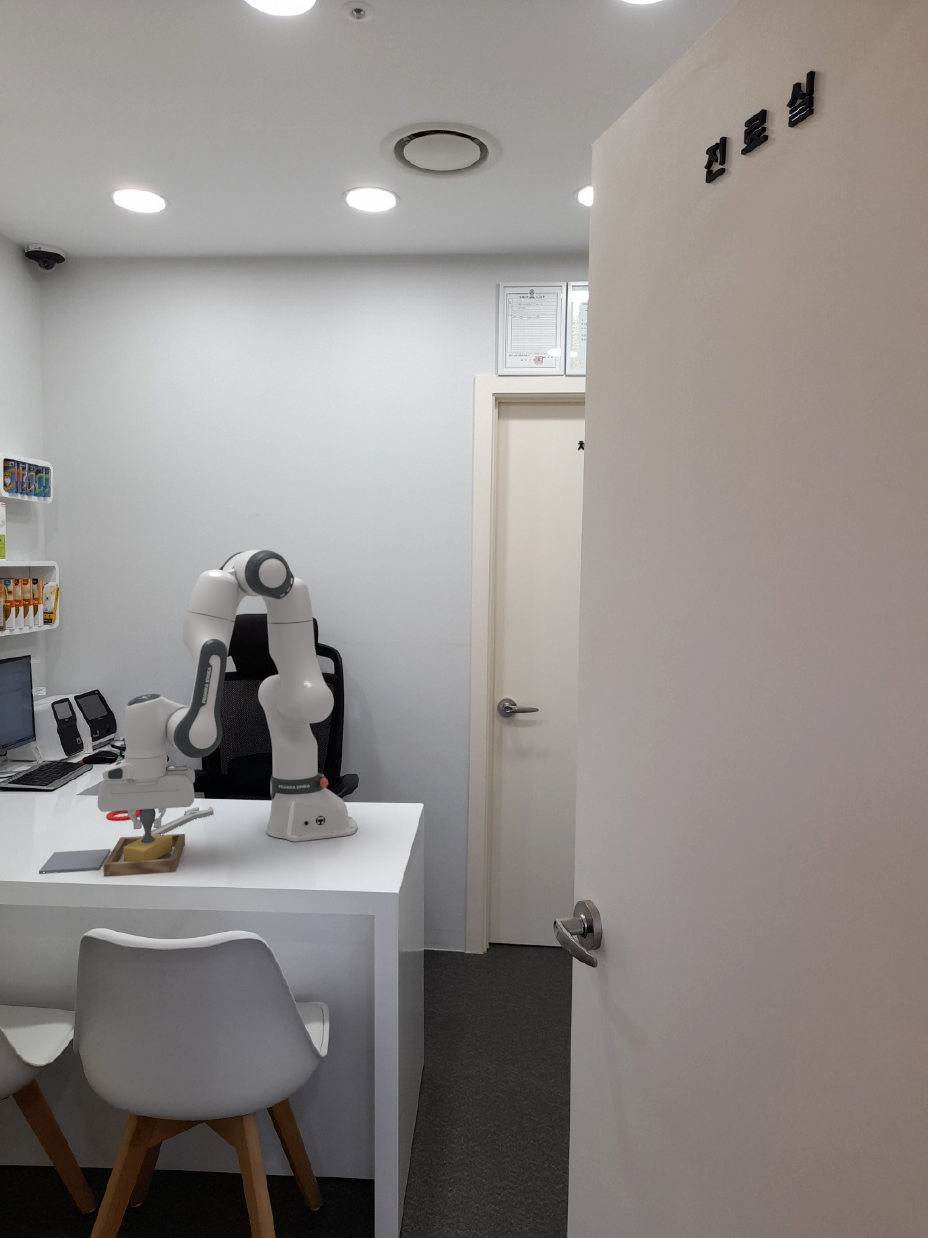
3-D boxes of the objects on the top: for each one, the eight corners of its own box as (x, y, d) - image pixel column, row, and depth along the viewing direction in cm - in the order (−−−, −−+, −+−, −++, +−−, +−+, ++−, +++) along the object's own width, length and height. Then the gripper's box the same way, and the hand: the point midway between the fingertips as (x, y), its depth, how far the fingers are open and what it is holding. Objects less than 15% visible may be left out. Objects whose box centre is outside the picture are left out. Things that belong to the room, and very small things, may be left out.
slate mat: (110, 851, 190) (110, 849, 190) (99, 870, 178) (99, 867, 178) (54, 854, 188) (54, 852, 187) (39, 873, 176) (39, 871, 176)
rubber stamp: (152, 848, 191) (150, 797, 190) (173, 851, 189) (172, 799, 188) (122, 863, 181) (121, 809, 181) (144, 866, 180) (143, 812, 179)
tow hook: (119, 824, 212) (150, 814, 220) (116, 775, 211) (147, 767, 218) (99, 819, 216) (130, 809, 224) (96, 771, 215) (128, 763, 223)
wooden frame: (185, 844, 196) (185, 833, 196) (175, 871, 178) (174, 860, 178) (120, 848, 193) (120, 837, 192) (103, 876, 175) (103, 864, 174)
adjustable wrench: (149, 842, 198) (149, 835, 198) (129, 839, 200) (129, 832, 200) (217, 814, 221) (217, 807, 221) (198, 811, 224) (197, 805, 224)
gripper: (196, 761, 189) (197, 820, 190) (101, 766, 185) (102, 826, 186) (193, 768, 183) (194, 829, 184) (94, 773, 179) (96, 835, 180)
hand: (147, 828), depth 185 cm, fingers closed on rubber stamp, 3 cm apart
